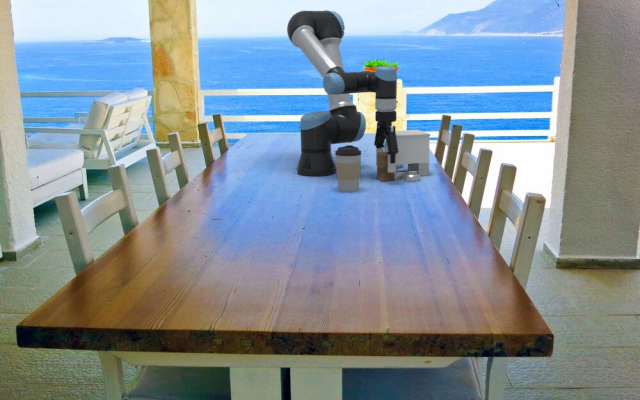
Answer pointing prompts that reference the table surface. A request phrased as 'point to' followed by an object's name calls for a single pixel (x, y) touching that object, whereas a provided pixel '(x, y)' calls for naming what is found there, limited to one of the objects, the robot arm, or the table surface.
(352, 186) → the coffee cup
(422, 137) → the cabinet
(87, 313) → the table surface
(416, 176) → the silver shallow dome
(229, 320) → the table surface
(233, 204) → the table surface
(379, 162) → the wood grain block
